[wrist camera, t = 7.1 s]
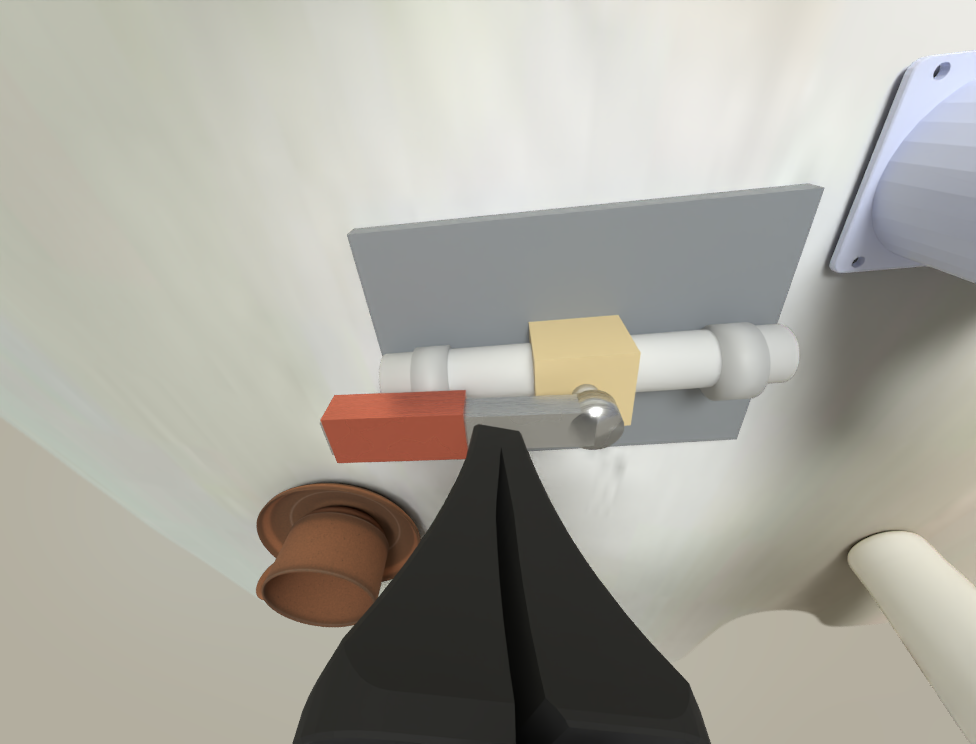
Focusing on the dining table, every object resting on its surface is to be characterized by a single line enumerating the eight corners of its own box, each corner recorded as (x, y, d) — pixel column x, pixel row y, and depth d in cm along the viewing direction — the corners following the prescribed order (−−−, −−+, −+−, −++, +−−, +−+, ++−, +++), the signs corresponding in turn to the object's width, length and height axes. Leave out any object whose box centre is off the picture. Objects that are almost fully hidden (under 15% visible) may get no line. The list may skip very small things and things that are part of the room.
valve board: (808, 183, 17) (922, 211, 12) (728, 428, 24) (780, 499, 20) (353, 228, 18) (307, 268, 14) (414, 446, 26) (397, 517, 21)
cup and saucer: (358, 577, 36) (335, 655, 30) (238, 512, 30) (186, 593, 25) (456, 527, 31) (448, 609, 26) (334, 441, 26) (295, 522, 21)
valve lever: (618, 383, 16) (629, 408, 15) (612, 427, 17) (621, 453, 16) (329, 395, 17) (315, 420, 15) (344, 437, 18) (332, 463, 17)
